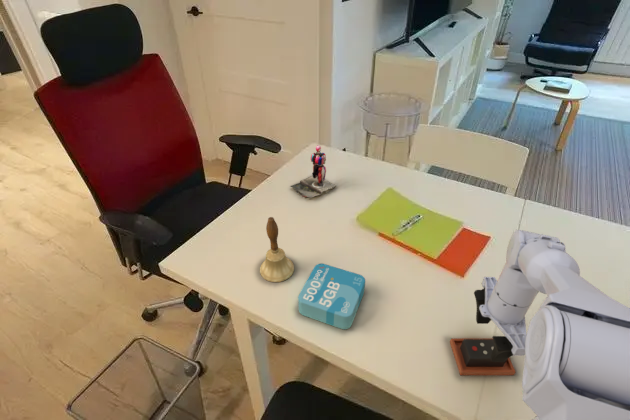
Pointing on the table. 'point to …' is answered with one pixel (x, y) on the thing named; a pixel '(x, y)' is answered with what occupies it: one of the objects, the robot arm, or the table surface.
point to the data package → (332, 296)
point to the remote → (479, 353)
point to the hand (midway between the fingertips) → (489, 340)
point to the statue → (315, 177)
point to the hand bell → (275, 258)
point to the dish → (464, 370)
